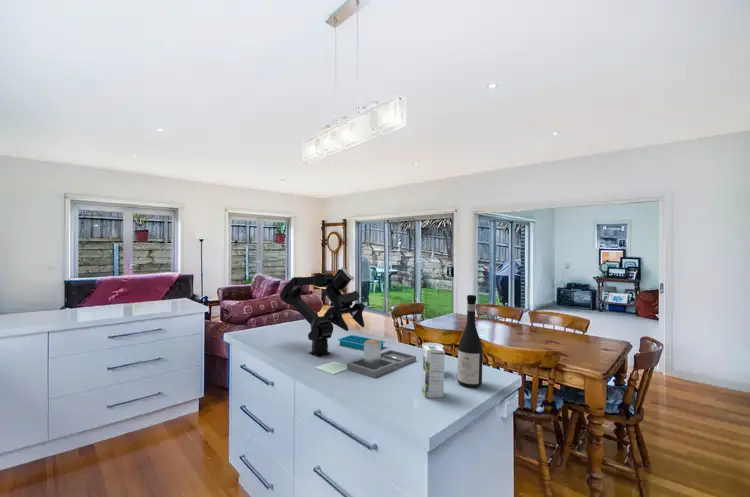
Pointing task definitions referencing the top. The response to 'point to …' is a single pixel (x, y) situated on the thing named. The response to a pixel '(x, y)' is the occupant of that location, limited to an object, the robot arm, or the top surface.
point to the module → (372, 354)
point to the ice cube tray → (355, 341)
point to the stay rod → (393, 358)
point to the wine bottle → (470, 350)
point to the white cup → (430, 344)
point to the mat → (332, 367)
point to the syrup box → (433, 371)
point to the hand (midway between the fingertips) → (356, 328)
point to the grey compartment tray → (382, 364)
